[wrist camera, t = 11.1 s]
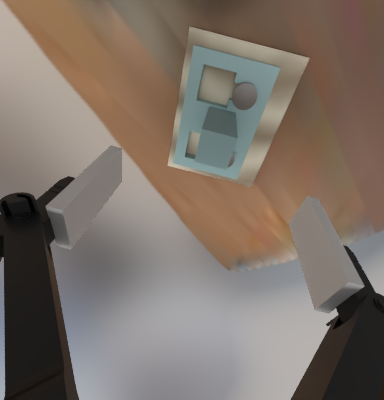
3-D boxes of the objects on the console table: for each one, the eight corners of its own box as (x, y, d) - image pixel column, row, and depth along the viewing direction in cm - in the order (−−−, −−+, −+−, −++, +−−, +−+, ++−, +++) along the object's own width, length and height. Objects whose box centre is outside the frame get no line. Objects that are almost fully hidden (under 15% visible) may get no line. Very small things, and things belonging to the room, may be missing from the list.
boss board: (190, 26, 25) (184, 24, 22) (307, 57, 26) (318, 60, 22) (169, 162, 36) (162, 175, 33) (250, 183, 36) (253, 198, 33)
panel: (195, 44, 25) (178, 47, 17) (278, 66, 26) (301, 79, 17) (175, 159, 34) (157, 197, 26) (236, 174, 35) (238, 217, 26)
